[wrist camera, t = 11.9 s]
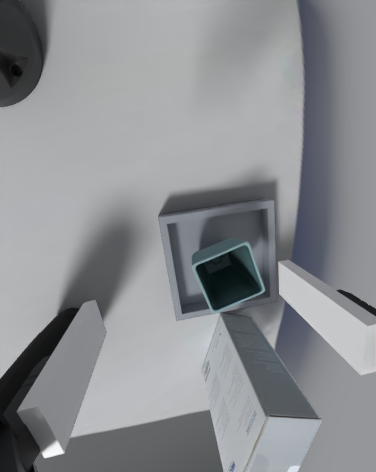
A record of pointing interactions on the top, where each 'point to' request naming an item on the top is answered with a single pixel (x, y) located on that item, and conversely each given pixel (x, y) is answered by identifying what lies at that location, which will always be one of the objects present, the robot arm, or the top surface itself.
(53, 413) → the robot arm
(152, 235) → the top surface
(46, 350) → the portable speaker
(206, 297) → the flower pot
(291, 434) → the hard drive box
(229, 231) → the tray
